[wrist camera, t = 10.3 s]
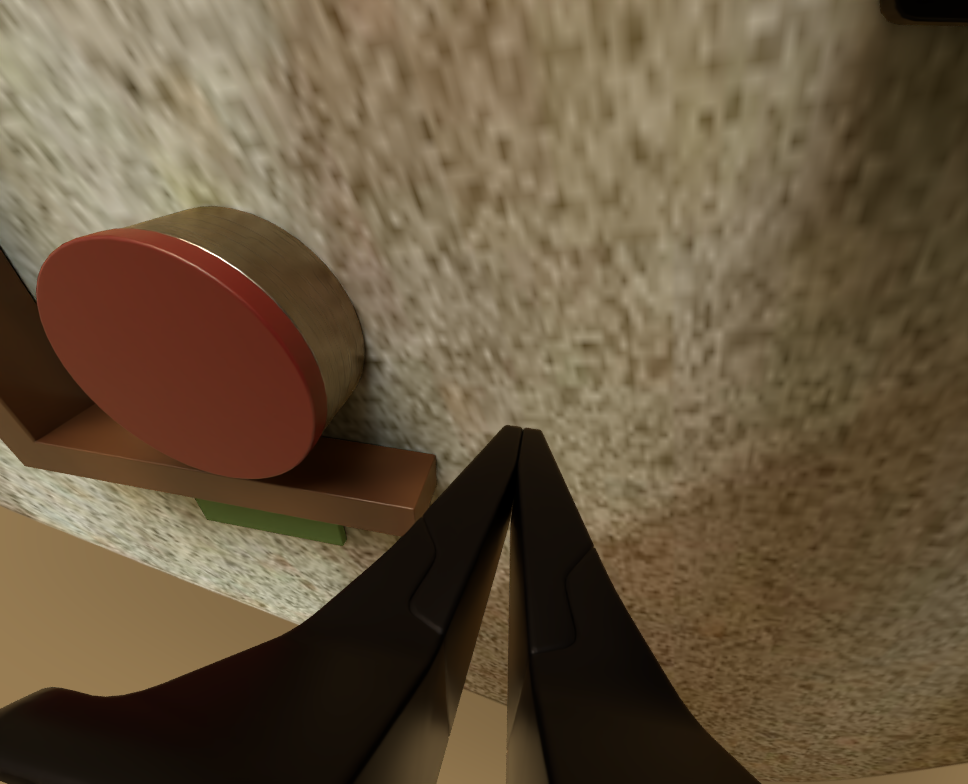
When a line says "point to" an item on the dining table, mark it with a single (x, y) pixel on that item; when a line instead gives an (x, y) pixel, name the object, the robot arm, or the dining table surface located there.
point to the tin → (205, 337)
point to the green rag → (273, 522)
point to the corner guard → (129, 461)
